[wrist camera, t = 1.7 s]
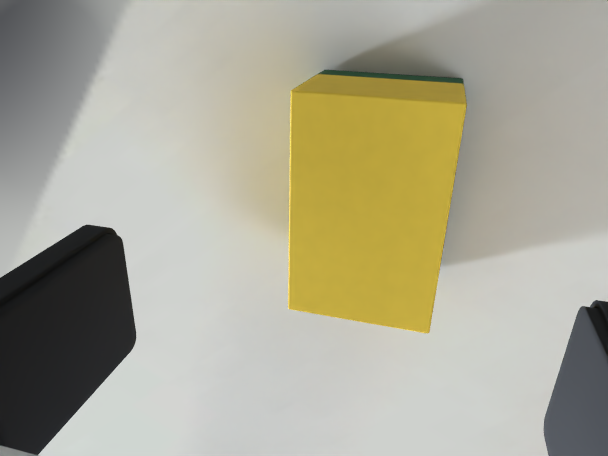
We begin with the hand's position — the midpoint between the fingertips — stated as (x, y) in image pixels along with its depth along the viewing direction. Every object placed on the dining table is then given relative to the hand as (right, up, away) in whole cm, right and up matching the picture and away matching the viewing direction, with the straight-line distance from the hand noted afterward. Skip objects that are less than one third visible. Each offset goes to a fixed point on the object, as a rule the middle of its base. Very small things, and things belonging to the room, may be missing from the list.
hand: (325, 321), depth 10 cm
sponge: (+2, +4, +7) cm, 9 cm away
